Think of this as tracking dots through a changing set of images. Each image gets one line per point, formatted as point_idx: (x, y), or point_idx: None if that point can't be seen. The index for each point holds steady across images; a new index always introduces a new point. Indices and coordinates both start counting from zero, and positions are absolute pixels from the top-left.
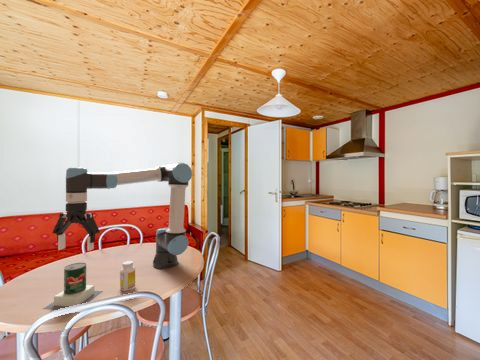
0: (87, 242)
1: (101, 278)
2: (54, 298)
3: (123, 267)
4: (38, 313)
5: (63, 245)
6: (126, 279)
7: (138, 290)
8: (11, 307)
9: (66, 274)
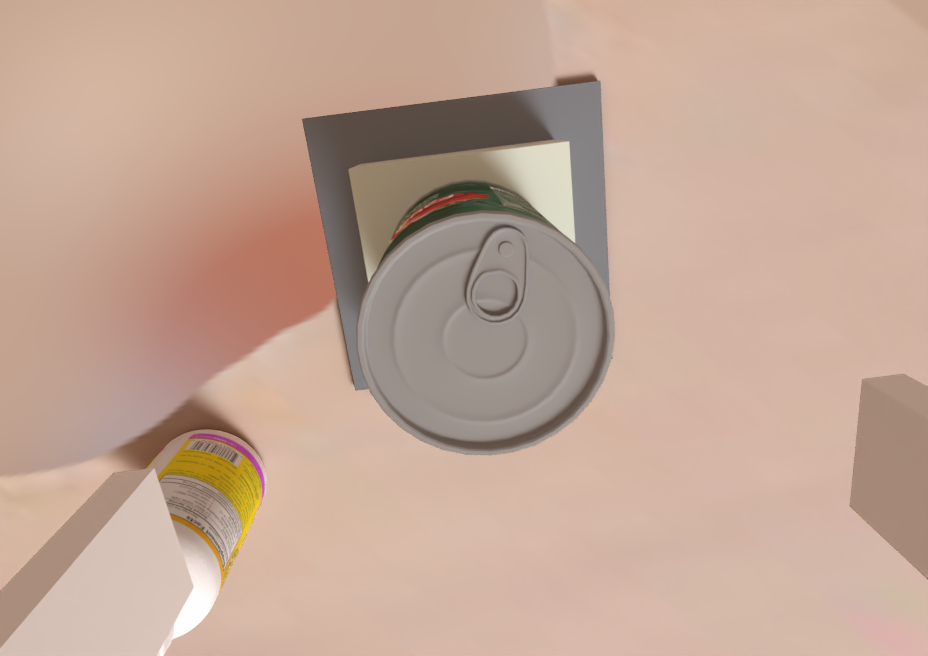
0: (17, 630)
1: (555, 548)
2: (561, 141)
3: None
4: (581, 34)
5: (909, 511)
6: None
7: (103, 462)
8: (883, 55)
9: (488, 204)
